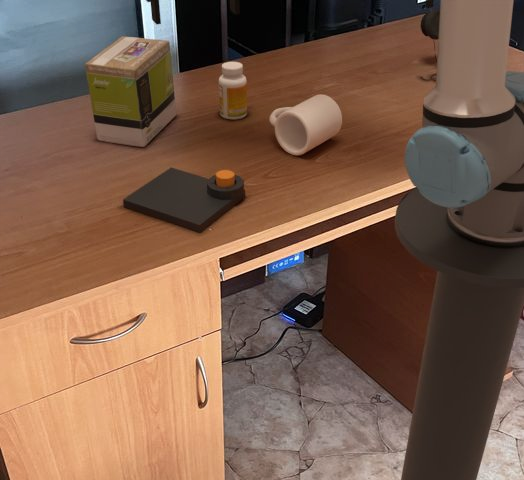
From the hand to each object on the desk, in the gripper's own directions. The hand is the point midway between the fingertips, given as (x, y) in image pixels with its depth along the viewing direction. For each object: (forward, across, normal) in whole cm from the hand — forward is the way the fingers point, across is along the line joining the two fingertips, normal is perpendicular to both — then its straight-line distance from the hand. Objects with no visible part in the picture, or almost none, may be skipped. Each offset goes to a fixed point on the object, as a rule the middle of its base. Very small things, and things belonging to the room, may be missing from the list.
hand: (196, 17), depth 130 cm
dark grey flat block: (+22, +9, +19) cm, 31 cm away
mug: (+23, -17, +6) cm, 29 cm away
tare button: (+20, +3, +21) cm, 29 cm away
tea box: (+22, +10, -11) cm, 27 cm away
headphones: (+23, -59, -15) cm, 65 cm away
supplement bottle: (+22, -10, -10) cm, 26 cm away
